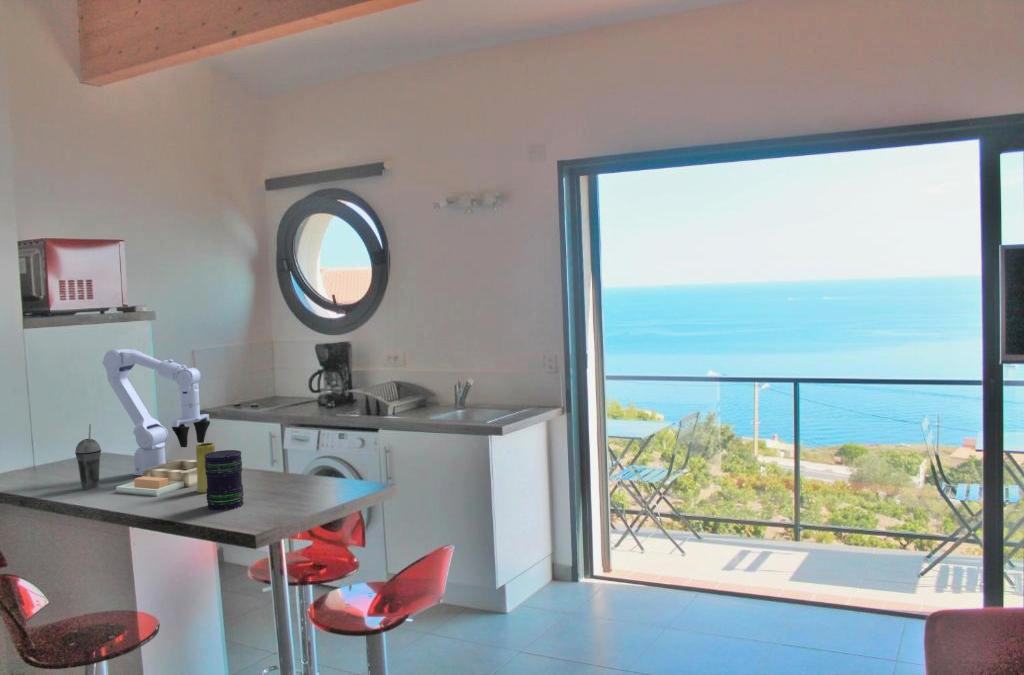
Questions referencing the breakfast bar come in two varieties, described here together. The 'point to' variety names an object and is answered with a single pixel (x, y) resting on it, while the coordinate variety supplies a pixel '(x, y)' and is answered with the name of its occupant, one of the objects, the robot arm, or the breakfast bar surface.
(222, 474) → the storage jar
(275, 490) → the breakfast bar surface
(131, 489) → the tray
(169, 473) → the block
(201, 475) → the vase
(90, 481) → the beverage cup
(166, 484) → the slab
